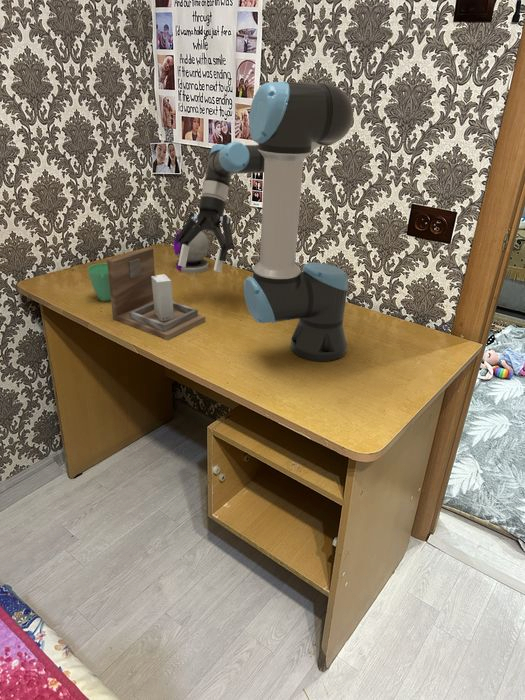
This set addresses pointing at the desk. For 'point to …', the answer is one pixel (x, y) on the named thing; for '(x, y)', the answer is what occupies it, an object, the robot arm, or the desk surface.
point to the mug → (100, 280)
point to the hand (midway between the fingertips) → (199, 269)
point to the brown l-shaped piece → (144, 297)
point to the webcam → (194, 254)
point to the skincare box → (162, 297)
